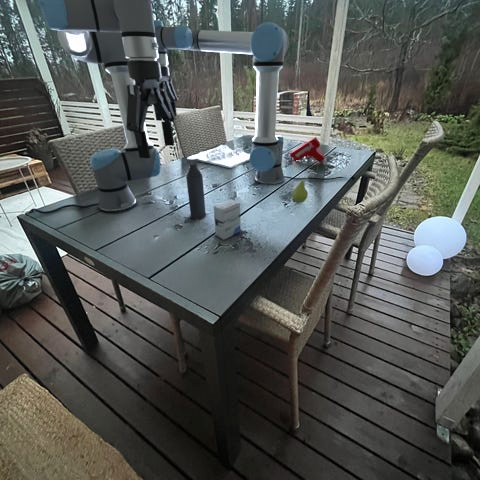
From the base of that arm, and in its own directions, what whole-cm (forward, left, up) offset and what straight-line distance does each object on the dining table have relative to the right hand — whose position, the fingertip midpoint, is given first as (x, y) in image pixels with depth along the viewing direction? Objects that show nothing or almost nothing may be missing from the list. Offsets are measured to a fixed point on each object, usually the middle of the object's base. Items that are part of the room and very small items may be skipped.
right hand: (167, 118), depth 131 cm
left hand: (-32, +57, +1) cm, 66 cm away
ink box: (-47, +45, -31) cm, 72 cm away
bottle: (-31, +35, -31) cm, 56 cm away
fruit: (-68, +10, -31) cm, 75 cm away
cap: (-31, +35, -7) cm, 47 cm away
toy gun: (-64, -52, -31) cm, 88 cm away
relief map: (-10, -44, -31) cm, 55 cm away
